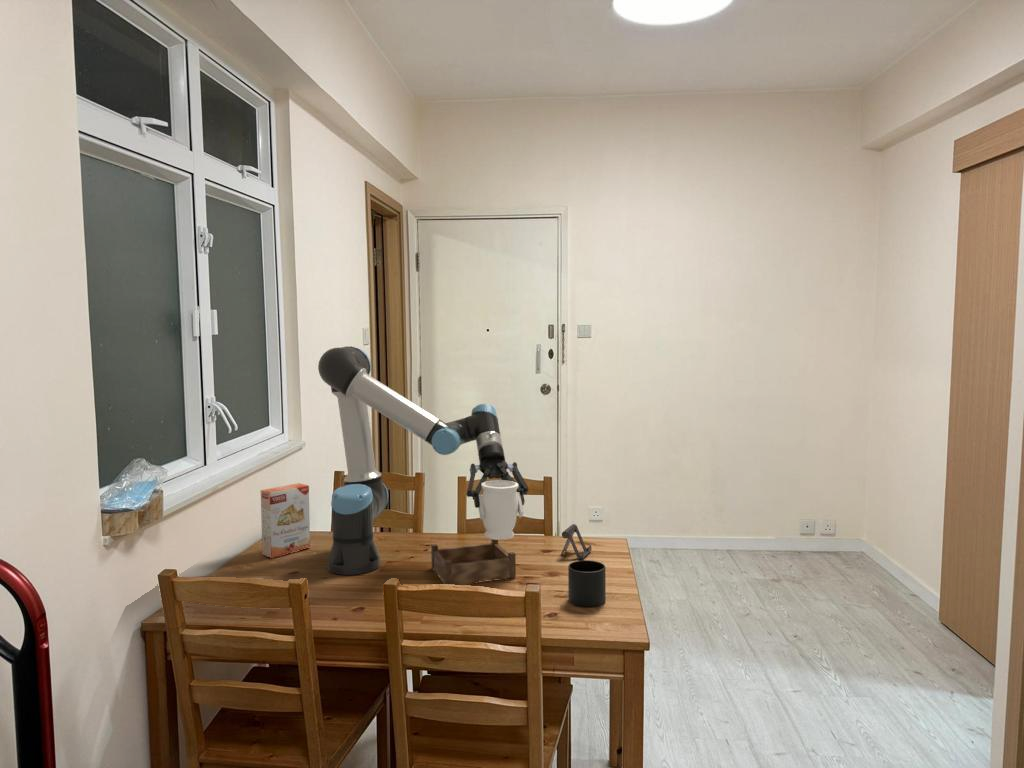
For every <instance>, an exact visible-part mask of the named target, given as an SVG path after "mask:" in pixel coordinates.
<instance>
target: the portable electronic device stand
mask: <svg viewBox="0 0 1024 768" xmlns="http://www.w3.org/2000/svg"><path fill="white" fill-rule="evenodd" d="M574 534H576V535H577V537H578V540H579V543H580V545H581V548H582V550H583V551H582V552H581V553H580V552H579V550H578V547H577V545H576V543H575V541H574V538H573V537H574ZM561 536H562V537H561V538H563V539H567V540H566V542H565V544H564V547H563V549H562V552H561V553H560V556H563V555H564V553H565V552H564V551H566V550H567V551H568V548H569V546H570V544H571V546H572V548H573V551H574V554H575V556H576V558H577V560H579V559H581V560H580V561H583V560H584V558H585V557H587V556H588V555H589V554H590V553H591V552H592V545H588V547H586V544H585V542H584V539H583V538H582V535H581V533H580V531H579V528H578V525H577V524H575V523H573V524H571V525H570V526H568V527H567V528H566V529H565V530H564V531H562V532H561ZM567 551H566V552H567ZM562 554H563V555H562Z"/></svg>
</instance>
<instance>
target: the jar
mask: <svg viewBox="0 0 1024 768" xmlns="http://www.w3.org/2000/svg"><path fill="white" fill-rule="evenodd" d="M482 489H483V491H482V493H481V495H482V501H483V508H484V518H483V519H482V523H483V527H484V529H485V532H484V536H485V538H486V539H490V540H491V539H493V540H498V541H504V540H509V539H512V538H514V536H515V533H514V531H513V530H514V528H515V526H516V523H517V518H518V517H517V516H518V494H517V489H518V483H517V482H516V481H515V482H513V481H506V480H502V479H497V480H493V479H492V480H488V481H487V480H486V482H483V483H482Z"/></svg>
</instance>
